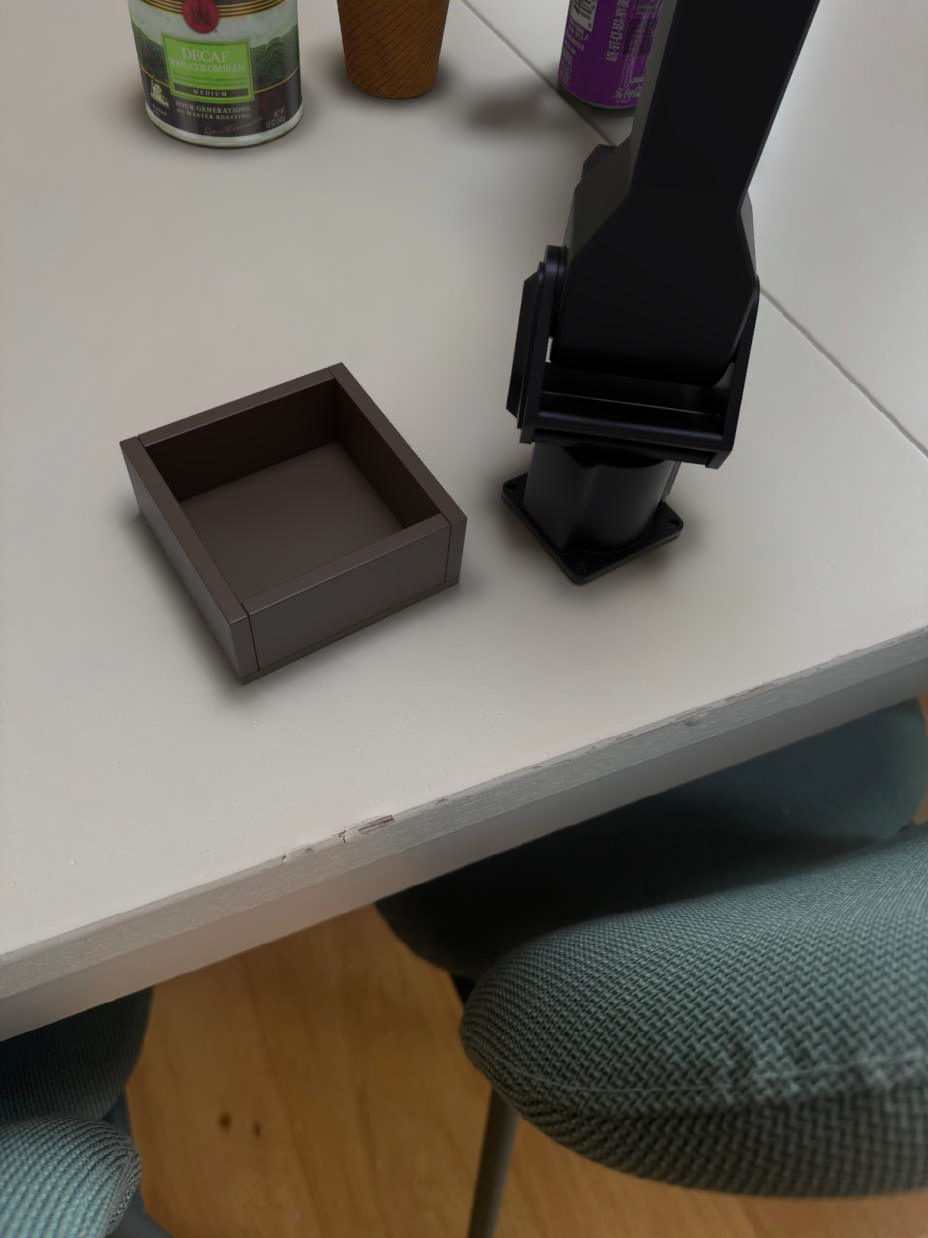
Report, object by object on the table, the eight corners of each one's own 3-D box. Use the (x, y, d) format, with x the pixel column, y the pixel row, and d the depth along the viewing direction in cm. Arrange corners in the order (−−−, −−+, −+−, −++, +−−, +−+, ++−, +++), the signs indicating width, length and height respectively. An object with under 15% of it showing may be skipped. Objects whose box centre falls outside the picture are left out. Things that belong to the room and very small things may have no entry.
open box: (242, 685, 39) (229, 624, 35) (139, 511, 43) (118, 441, 40) (459, 582, 43) (468, 517, 39) (344, 431, 47) (341, 361, 44)
